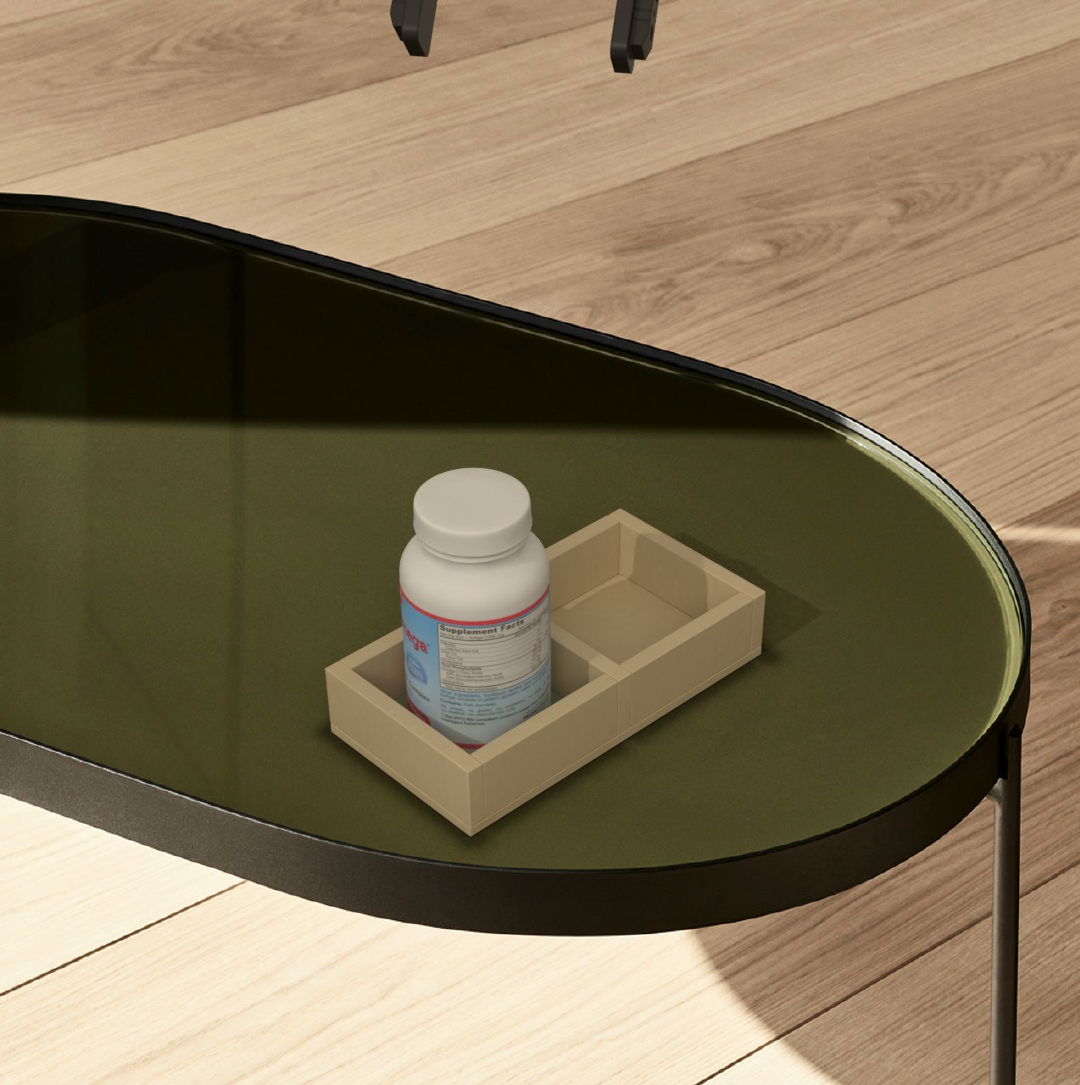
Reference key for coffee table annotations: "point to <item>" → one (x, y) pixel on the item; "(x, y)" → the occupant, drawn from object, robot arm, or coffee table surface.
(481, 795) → the holder
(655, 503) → the coffee table surface
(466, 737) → the pill bottle
